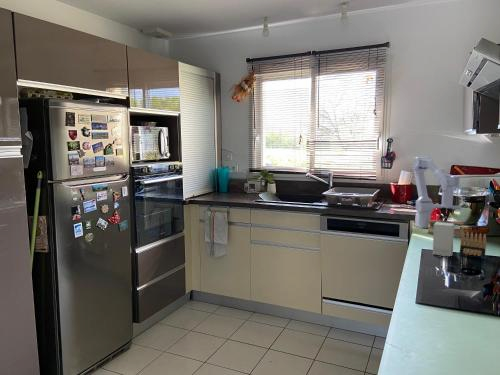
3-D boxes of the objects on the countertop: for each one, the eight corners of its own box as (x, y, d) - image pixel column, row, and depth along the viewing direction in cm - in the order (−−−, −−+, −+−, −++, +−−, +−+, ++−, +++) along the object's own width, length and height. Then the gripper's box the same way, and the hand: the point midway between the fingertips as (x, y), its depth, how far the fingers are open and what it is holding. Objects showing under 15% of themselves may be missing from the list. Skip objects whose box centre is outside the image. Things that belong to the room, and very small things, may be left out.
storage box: (428, 229, 244) (428, 222, 243) (461, 232, 236) (461, 225, 236) (427, 233, 233) (428, 226, 233) (462, 236, 226) (462, 230, 225)
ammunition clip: (485, 258, 186) (487, 233, 185) (484, 259, 185) (487, 234, 183) (459, 254, 192) (461, 230, 190) (459, 255, 190) (461, 231, 189)
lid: (428, 222, 244) (428, 220, 244) (461, 225, 236) (461, 223, 236) (428, 220, 232) (428, 219, 232) (463, 224, 224) (463, 222, 224)
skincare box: (452, 255, 191) (455, 223, 188) (450, 258, 185) (453, 226, 183) (433, 252, 195) (436, 221, 193) (431, 255, 190) (433, 223, 188)
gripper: (433, 197, 230) (432, 221, 231) (461, 199, 223) (460, 223, 225) (433, 196, 236) (432, 218, 237) (461, 198, 230) (459, 221, 231)
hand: (445, 221), depth 232 cm, fingers closed, pressing on lid
